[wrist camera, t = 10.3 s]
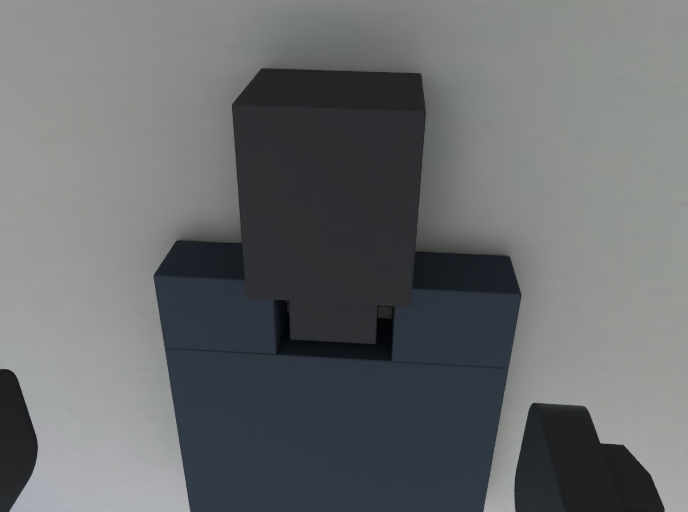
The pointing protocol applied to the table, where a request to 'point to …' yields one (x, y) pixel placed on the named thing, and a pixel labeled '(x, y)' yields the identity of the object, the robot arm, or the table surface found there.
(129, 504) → the table surface
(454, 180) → the table surface
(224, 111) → the table surface
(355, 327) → the black usb stick
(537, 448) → the robot arm
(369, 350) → the grey pad
